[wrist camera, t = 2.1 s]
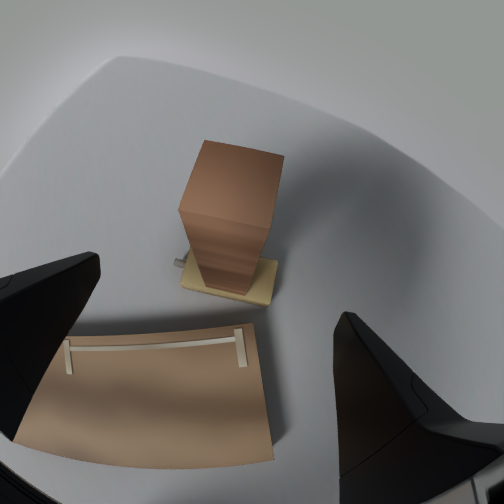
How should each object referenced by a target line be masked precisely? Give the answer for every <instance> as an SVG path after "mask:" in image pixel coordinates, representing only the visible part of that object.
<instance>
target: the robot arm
mask: <svg viewBox="0 0 504 504" xmlns="http://www.w3.org/2000/svg"><path fill="white" fill-rule="evenodd" d="M100 275H101V270H100V258H99V255H98V254H97V253H93V252H85V253H81V254H78V255H74V256H71V257H68V258H64V259H61V260H57V261H54V262H51V263H47V264H44V265H41V266H38V267H34V268H31V269H28V270H25V271H22V272H19V273H16V274H14V275H13V274H12V275H9V276H6V277H3V278H0V433H1V434H3V435H4V436H5V437H6V438H7V439H9V440H10V441H11V442H13V440H14V438H15V436H16V433H17V431H18V428H19V426H20V424H21V422H22V419H23V417H24V415H25V413H26V410H27V408H28V406H29V404H30V402H31V400H32V398H33V395H34V394H35V392H36V390H37V388H38V386H39V384H40V382H41V380H42V378H43V376H44V374H45V372H46V371H47V369H48V367H49V365H50V363H51V362H52V360H53V358H54V356H55V354H56V353H57V351H58V349H59V348H60V346H61V344H62V343H63V341H64V339H65V338H66V336H67V334H68V333H69V331H70V329H71V328H72V326H73V325H74V323H75V321H76V320H77V318H78V317H79V315H80V314H81V312H82V310H83V309H84V307H85V305H86V303H87V301H88V299H89V298H90V296H91V294H92V292H93V290H94V288H95V286H96V284H97V283H98V281H99V279H100ZM333 374H334V385H335V397H336V410H337V425H338V444H339V474H340V478H339V484H340V504H504V424H496V423H482V422H473V421H470V420H467V419H465V418H463V417H462V416H461V415H459V414H458V413H457V412H456V411H455V410H454V409H453V408H452V407H450V406H449V405H448V404H447V403H446V402H445V401H444V400H443V399H441V398H440V397H439V396H438V395H437V394H436V393H435V392H434V391H433V390H432V389H430V388H429V387H428V386H427V385H426V384H425V383H424V382H423V381H422V380H421V379H420V378H419V377H418V376H417V375H416V374H415V373H414V372H413V371H412V370H411V368H410V367H409V366H408V365H407V364H406V363H405V362H404V361H403V360H402V359H401V358H400V357H399V356H398V355H397V354H396V353H395V352H394V351H393V350H392V349H391V348H390V347H389V346H388V345H387V344H386V343H385V342H384V341H383V340H382V339H381V338H380V337H379V336H378V335H377V334H376V333H375V332H374V331H373V330H372V329H371V328H370V327H369V326H368V325H367V324H366V323H364V322H363V321H362V320H361V319H360V318H359V317H358V316H357V315H356V314H355V313H352V312H346V311H345V312H343V313H342V315H341V317H340V319H339V321H338V323H337V325H336V327H335V330H334V335H333ZM0 504H62V503H60V502H58V501H56V500H55V499H53V498H52V497H50V496H48V495H47V494H45V493H44V492H42V491H40V490H39V489H37V488H36V487H34V486H33V485H32V484H30V483H29V482H27V481H26V480H25V479H23V478H22V477H20V476H19V475H18V474H16V473H15V472H14V471H13V470H11V469H10V468H9V467H8V466H6V465H5V464H4V463H3V462H1V461H0Z"/></svg>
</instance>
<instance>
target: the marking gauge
mask: <svg viewBox="0 0 504 504" xmlns="http://www.w3.org/2000/svg"><path fill="white" fill-rule="evenodd" d="M283 161H284V156H282V155H278V154H273V153H269V152H265V151H260V150H255V149H251V148H246V147H241V146H236V145H230V144H225V143H219V142H213V141H207V140H204V142H203V145H202V147H201V150H200V152H199V155H198V157H197V160H196V162H195V165H194V168H193V170H192V173H191V175H190V178H189V181H188V183H187V186H186V189H185V192H184V194H183V197H182V200H181V203H180V206H179V208H178V211H179V214H180V217H181V220H182V222H183V225H184V228H185V231H186V234H187V237H188V240H189V243H190V245H191V246H190V250H189V253H188V257H187V260H186V261H184V260H180V259H175V261H174V266H178V267H182V268H184V271H183V275H182V278H181V282H180V284H181V285H182V287H183V288H186V289H190V290H194V291H198V292H202V293H206V294H210V295H214V296H219V297H223V298H227V299H232V300H236V301H241V302H245V303H250V304H254V305H259V306H264V307H268V306H269V305H270V302H271V297H272V292H273V286H274V281H275V276H276V271H277V265H278V261H276V260H272V259H267V258H263V257H260V255H261V253H262V250H263V247H264V245H265V242H266V239H267V237H268V234H269V232H270V228H271V223H272V218H273V213H274V208H275V203H276V198H277V192H278V187H279V182H280V177H281V172H282V166H283Z"/></svg>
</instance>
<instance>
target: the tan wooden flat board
mask: <svg viewBox="0 0 504 504" xmlns="http://www.w3.org/2000/svg"><path fill="white" fill-rule="evenodd" d="M9 441H10V440H9ZM13 442H14V443H17V444H20V445H23V446H26V447H29V448H32V449H35V450H39V451H42V452H46V453H50V454H53V455H57V456H62V457H66V458H71V459H75V460H81V461H86V462H92V463H98V464H105V465H113V466H122V467H133V468H149V469H199V468H215V467H227V466H236V465H244V464H251V463H258V462H264V461H270V460H274V454H273V448H272V442H271V435H270V429H269V423H268V416H267V410H266V404H265V397H264V391H263V384H262V378H261V371H260V365H259V358H258V352H257V345H256V338H255V332H254V325H253V323H248V324H240V325H233V326H224V327H216V328H207V329H197V330H187V331H176V332H164V333H150V334H134V335H113V336H66V338H65V339H64V341H63V343H62V344H61V346H60V348H59V349H58V351H57V353H56V354H55V356H54V358H53V360H52V362H51V363H50V365H49V367H48V369H47V371H46V372H45V374H44V376H43V378H42V380H41V382H40V384H39V386H38V388H37V390H36V392H35V394H34V395H33V398H32V400H31V402H30V404H29V406H28V408H27V410H26V413H25V415H24V417H23V419H22V422H21V424H20V426H19V428H18V431H17V433H16V436H15V438H14V440H13Z"/></svg>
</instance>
